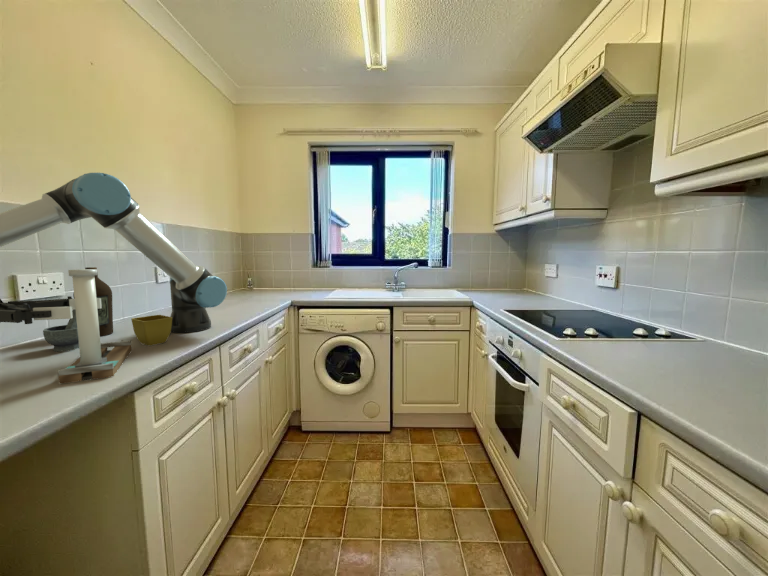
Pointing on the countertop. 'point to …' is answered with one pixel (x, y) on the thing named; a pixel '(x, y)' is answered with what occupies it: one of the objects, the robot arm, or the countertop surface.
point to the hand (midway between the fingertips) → (87, 307)
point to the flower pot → (152, 329)
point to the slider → (87, 317)
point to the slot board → (98, 371)
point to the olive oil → (104, 306)
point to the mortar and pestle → (63, 335)
